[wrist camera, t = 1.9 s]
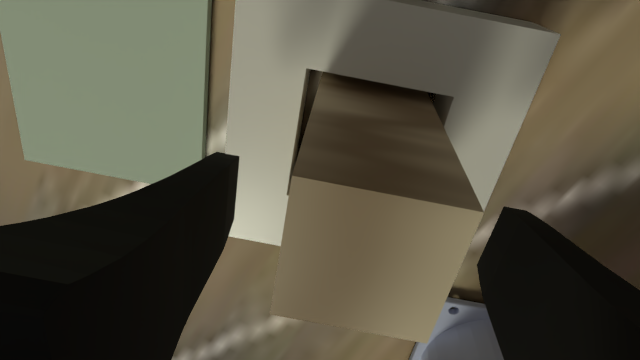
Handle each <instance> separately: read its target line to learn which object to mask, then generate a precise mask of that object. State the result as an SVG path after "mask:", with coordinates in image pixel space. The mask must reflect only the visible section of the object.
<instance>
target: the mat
mask: <svg viewBox="0 0 640 360" xmlns="http://www.w3.org/2000/svg"><path fill="white" fill-rule="evenodd" d="M211 11H212V0H0V32H1V37H2V43H3V48H4V53H5V58H6V64H7V69H8V74H9V79H10V85H11V90H12V95H13V100H14V106H15V111H16V116H17V121H18V127H19V132H20V137H21V142H22V148H23V153H24V158H25V160H28V161H34V162H39V163H44V164H49V165H55V166H60V167H65V168H70V169H76V170H81V171H86V172H91V173H97V174H102V175H107V176H112V177H117V178H123V179H128V180H133V181H138V182H144V183H149V184H153V183H155V182H158V181H160V180H162V179H164V178H167V177H169V176H171V175H173V174H175V173H177V172H179V171H181V170H182V169H184V168H186V167H188V166H190V165H192V164H194V163H196V162H198V161H200V160H202V159H204V158H205V148H206V125H207V102H208V79H209V56H210V33H211Z"/></svg>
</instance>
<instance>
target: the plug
mask: <svg viewBox="0 0 640 360" xmlns="http://www.w3.org/2000/svg"><path fill="white" fill-rule="evenodd" d="M483 214H484V211H483V209H482V207H481V205H480V202H479V200H478V198H477V196H476V194H475V192H474V190H473V188H472V186H471V183H470V181H469V179H468V177H467V175H466V173H465V171H464V169H463V167H462V165H461V162H460V160H459V158H458V156H457V154H456V152H455V150H454V148H453V146H452V143H451V141H450V139H449V137H448V135H447V133H446V131H445V129H444V127H443V124H442V122H441V120H440V118H439V116H438V114H437V112H436V110H435V108H434V106H433V103H432V101H431V99H430V97H429V95H428V93H427V92H426V91H421V90H416V89H410V88H405V87H400V86H395V85H390V84H385V83H380V82H374V81H369V80H364V79H359V78H354V77H349V76H344V75H339V74H333V73H328V72H323V73H322V76H321V79H320V83H319V86H318V89H317V93H316V96H315V100H314V103H313V106H312V110H311V113H310V116H309V120H308V123H307V127H306V130H305V133H304V137H303V140H302V143H301V147H300V150H299V154H298V157H297V160H296V164H295V167H294V170H293V174H292V178H291V185H290V191H289V197H288V203H287V210H286V216H285V222H284V229H283V235H282V241H281V247H280V254H279V260H278V266H277V272H276V279H275V285H274V291H273V297H272V304H271V310H270V314H271V315H277V316H282V317H287V318H293V319H298V320H303V321H309V322H314V323H319V324H325V325H330V326H335V327H341V328H346V329H351V330H357V331H362V332H367V333H373V334H378V335H383V336H389V337H394V338H399V339H405V340H410V341H415V342H421V343H426V344H427V343H428V340H429V338H430V336H431V333H432V331H433V329H434V327H435V324H436V322H437V320H438V317H439V315H440V313H441V310H442V308H443V306H444V304H445V301H446V299H447V297H448V294H449V292H450V290H451V288H452V285H453V283H454V281H455V278H456V276H457V274H458V272H459V269H460V267H461V265H462V262H463V260H464V258H465V255H466V253H467V251H468V249H469V246H470V244H471V242H472V239H473V237H474V235H475V233H476V230H477V228H478V226H479V223H480V221H481V219H482V217H483Z"/></svg>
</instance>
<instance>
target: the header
mask: <svg viewBox="0 0 640 360" xmlns="http://www.w3.org/2000/svg"><path fill="white" fill-rule="evenodd" d="M560 35H561V34H559V33H557V32H554V31H552V30H549V29H547V28H545V27H542V26H540V25H538V24H535V23H533V22H529V21H524V20H519V19H514V18H509V17H504V16H499V15H494V14H489V13H483V12H478V11H473V10H468V9H463V8H458V7H453V6H448V5H443V4H438V3H433V2H428V1H423V0H236V3H235V17H234V32H233V46H232V61H231V75H230V90H229V104H228V119H227V133H226V148H225V154H230V155H235V156H240V157H239V169H238V180H237V192H236V203H235V215H234V221H233V224H232V227H231V230H230V233H229V235H228V236H231V237H236V238H241V239H246V240H252V241H257V242H262V243H267V244H273V245H278V246H281V241H282V235H283V229H284V222H285V216H286V210H287V203H288V197H289V191H290V185H291V178H292V174H293V170H294V167H295V163H296V157H297V151H298V145H299V138H300V132H301V126H302V120H303V114H304V108H305V101H306V95H307V89H308V83H309V77H310V70H311V69H313V70H318V71H323V72H328V73H333V74H339V75H344V76H349V77H354V78H359V79H364V80H369V81H374V82H380V83H385V84H390V85H395V86H400V87H405V88H410V89H416V90H421V91H426V92H431V93H436V95H435V99H434V102H433V106H434V108H435V110H436V112H437V114H438V116H439V118H440V120H441V122H442V124H443V127H444V129H445V131H446V133H447V135H448V137H449V139H450V141H451V143H452V146H453V148H454V150H455V152H456V154H457V156H458V158H459V160H460V162H461V165H462V167H463V169H464V171H465V173H466V175H467V177H468V179H469V181H470V183H471V186H472V188H473V190H474V192H475V194H476V196H477V198H478V200H479V202H480V205H481V207H482V209H483V211H484V210H485V208H486V205H487V203H488V201H489V199H490V196H491V194H492V192H493V189H494V187H495V185H496V182H497V180H498V178H499V176H500V173H501V171H502V169H503V166H504V164H505V162H506V159H507V157H508V155H509V153H510V150H511V148H512V146H513V143H514V141H515V139H516V136H517V134H518V132H519V130H520V127H521V125H522V123H523V120H524V118H525V116H526V113H527V111H528V109H529V107H530V104H531V102H532V100H533V97H534V95H535V93H536V90H537V88H538V86H539V84H540V81H541V79H542V77H543V74H544V72H545V70H546V67H547V65H548V63H549V61H550V58H551V56H552V54H553V51H554V49H555V47H556V45H557V42H558V40H559V38H560Z"/></svg>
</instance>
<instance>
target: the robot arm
mask: <svg viewBox="0 0 640 360" xmlns="http://www.w3.org/2000/svg"><path fill="white" fill-rule="evenodd" d="M239 157H240V156H235V155H230V154H225V153H220V152H216V153H214V154H211V155H209V156H207V157H205V158H204V159H202V160H200V161H198V162H196V163H194V164H192V165H190V166H188V167H186V168H184V169H182V170H181V171H179V172H177V173H175V174H173V175H171V176H169V177H167V178H164V179H162V180H160V181H158V182H155V183H153V184H151V185H149V186H146V187H144V188H142V189H140V190H137V191H135V192H132V193H130V194H127V195H124V196H122V197H119V198H116V199H113V200H110V201H107V202H104V203H101V204H97V205H94V206H91V207H87V208H83V209H79V210H75V211H71V212H67V213H63V214H59V215H55V216H51V217H47V218H42V219H37V220H32V221H27V222H22V223H16V224H10V225H4V226H0V360H171V359H172V356H173V354H174V351H175V348H176V346H177V343H178V341H179V338H180V336H181V333H182V330H183V328H184V326H185V324H186V322H187V320H188V317H189V315H190V313H191V311H192V309H193V307H194V305H195V304H196V302H197V300H198V298H199V296H200V294H201V292H202V290H203V288H204V286H205V284H206V282H207V280H208V278H209V277H210V275H211V273H212V271H213V269H214V267H215V265H216V263H217V261H218V259H219V257H220V255H221V253H222V251H223V249H224V246H225V244H226V241H227V238H228V235H229V233H230V230H231V227H232V224H233V221H234V215H235V203H236V192H237V180H238V169H239ZM477 268H478V274H479V280H480V286H481V291H482V296H483V300H484V303H485V304H482V303H477V302H471V301H466V300H461V299H455V298H450V297H447V299H446V301H445V304H444V306H443V308H442V310H441V313H440V315H439V317H438V320H437V322H436V324H435V327H434V329H433V331H432V333H431V336H430V338H429V340H428V343H427V344H426V343H421V342H416V344H415V346H414V349H413V351H412V354H411V356H410V358H409V360H640V290H639V289H637V288H636V287H634V286H633V285H631V284H630V283H628V282H627V281H625V280H624V279H622V278H621V277H619V276H618V275H616V274H615V273H613V272H612V271H611V270H609V269H608V268H606V267H605V266H604V265H602V264H601V263H599V262H598V261H597V260H595V259H594V258H592V257H591V256H590V255H588V254H587V253H586V252H584V251H583V250H582V249H580V248H579V247H578V246H576V245H575V244H574V243H572V242H571V241H570V240H568V239H567V238H566V237H564V236H563V235H561V234H560V233H559V232H557V231H556V230H555V229H553V228H552V227H551V226H549V225H548V224H546V223H545V222H544V221H542V220H541V219H539V218H538V217H536V216H534V215H533V214H531V213H529V212H528V211H525V210H519V209H514V208H509V207H504V208H503V210H502V212H501V214H500V216H499V218H498V221H497V223H496V225H495V227H494V229H493V231H492V234H491V236H490V238H489V240H488V242H487V244H486V247H485V249H484V251H483V253H482V255H481V257H480V260H479V262H478V264H477ZM451 307H456V308H454V309H450V308H451Z"/></svg>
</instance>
